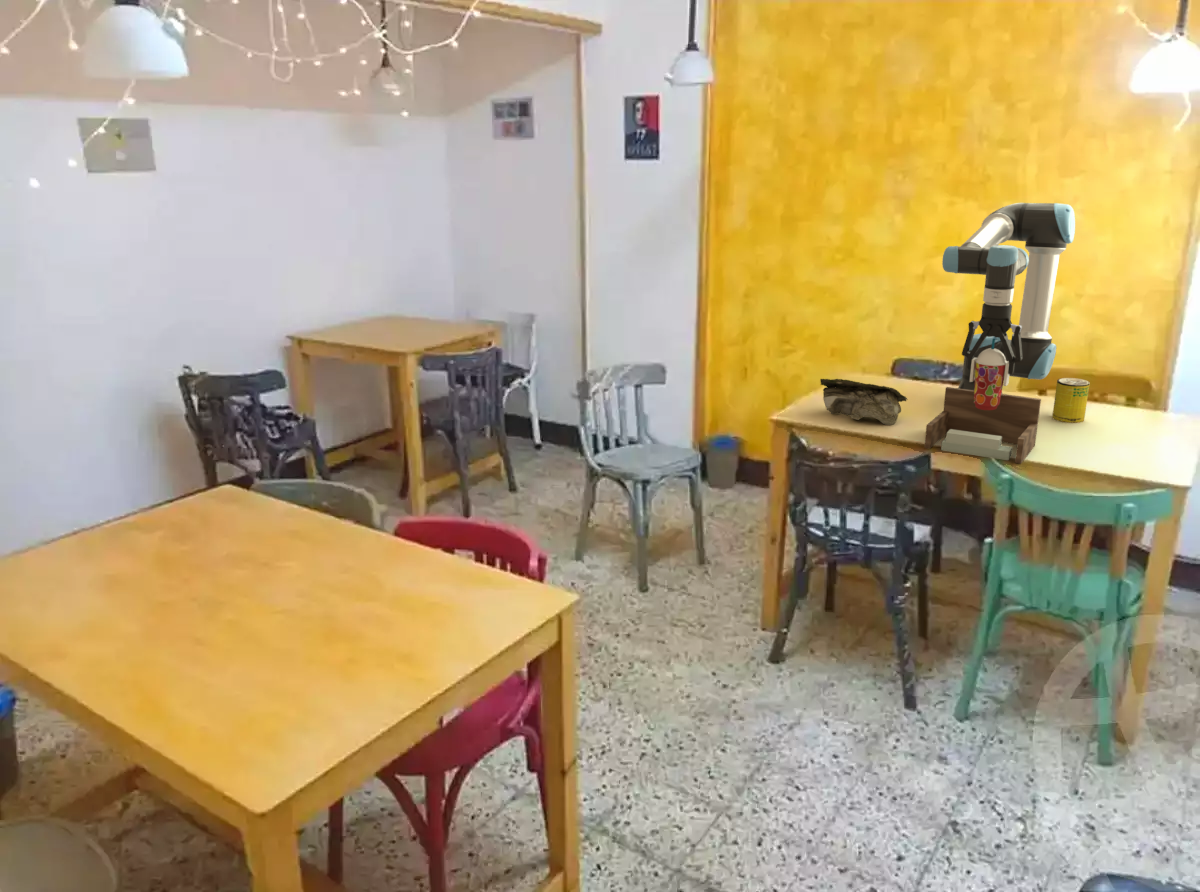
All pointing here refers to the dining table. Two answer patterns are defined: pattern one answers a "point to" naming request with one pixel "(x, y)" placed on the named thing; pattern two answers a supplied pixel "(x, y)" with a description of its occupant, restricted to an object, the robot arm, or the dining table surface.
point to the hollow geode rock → (862, 400)
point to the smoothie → (989, 378)
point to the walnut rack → (988, 419)
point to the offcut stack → (976, 444)
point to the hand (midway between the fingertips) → (988, 382)
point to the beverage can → (1070, 400)
